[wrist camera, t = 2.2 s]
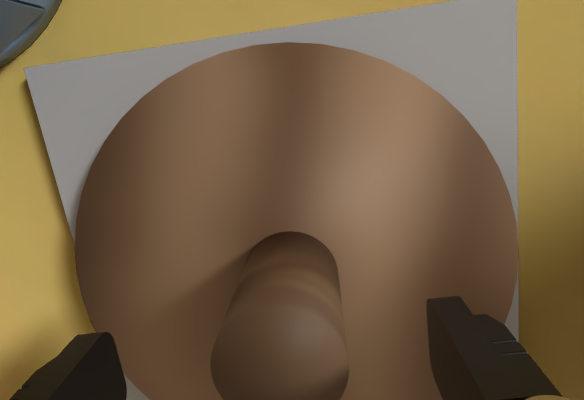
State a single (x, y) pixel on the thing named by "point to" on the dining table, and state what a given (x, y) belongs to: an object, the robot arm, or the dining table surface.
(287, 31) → the mat
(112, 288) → the lid
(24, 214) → the dining table surface
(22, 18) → the bowl
